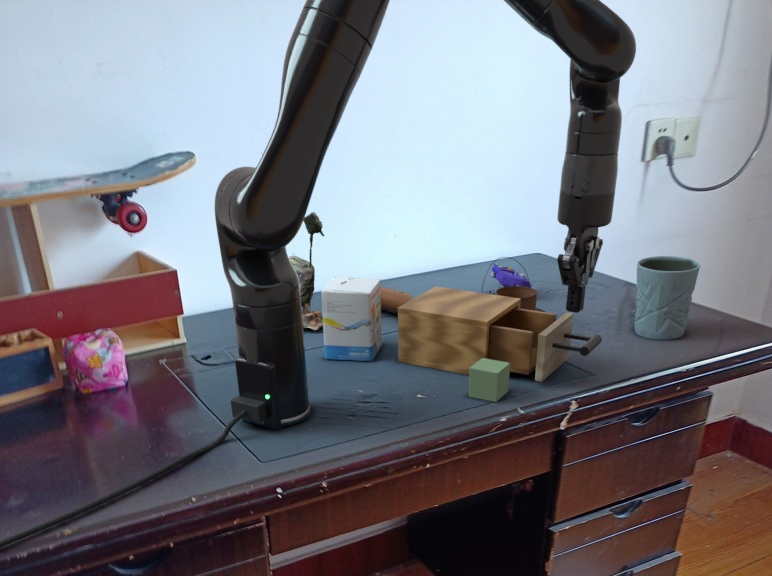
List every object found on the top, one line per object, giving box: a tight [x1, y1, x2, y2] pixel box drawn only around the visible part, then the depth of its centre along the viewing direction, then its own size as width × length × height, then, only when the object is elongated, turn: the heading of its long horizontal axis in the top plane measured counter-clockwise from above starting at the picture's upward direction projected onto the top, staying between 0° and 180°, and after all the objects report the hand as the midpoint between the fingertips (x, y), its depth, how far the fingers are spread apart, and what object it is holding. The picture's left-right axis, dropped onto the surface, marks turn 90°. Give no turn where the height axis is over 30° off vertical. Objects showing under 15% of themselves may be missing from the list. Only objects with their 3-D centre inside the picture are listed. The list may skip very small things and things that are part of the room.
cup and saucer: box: [495, 286, 546, 312], centre depth 150 cm, size 12×12×6 cm
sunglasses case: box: [380, 285, 415, 315], centre depth 159 cm, size 18×7×7 cm
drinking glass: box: [634, 255, 701, 341], centre depth 143 cm, size 10×10×12 cm
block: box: [467, 358, 510, 403], centre depth 124 cm, size 5×5×5 cm
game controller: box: [481, 256, 532, 294], centre depth 165 cm, size 10×8×10 cm
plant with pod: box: [288, 211, 325, 331], centre depth 149 cm, size 8×11×20 cm
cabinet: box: [397, 286, 521, 376], centre depth 136 cm, size 16×13×9 cm
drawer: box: [488, 308, 603, 382], centre depth 131 cm, size 20×12×7 cm, turn 59°
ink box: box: [320, 276, 383, 362], centre depth 139 cm, size 9×8×12 cm
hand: (574, 310), depth 124 cm, fingers closed
